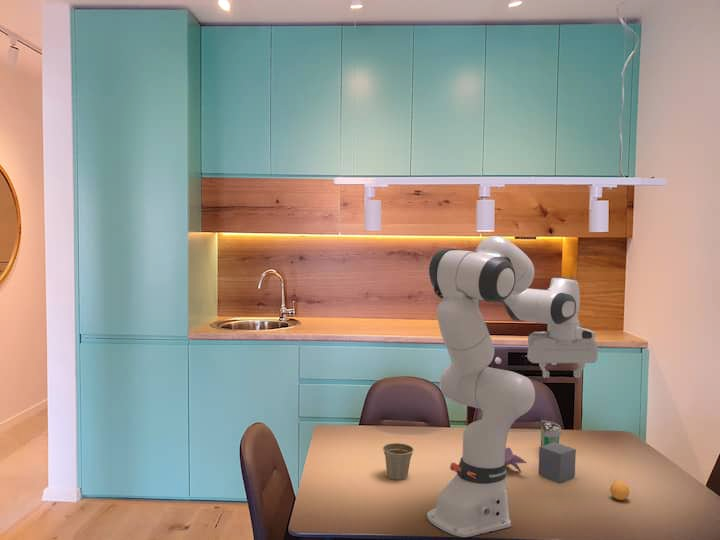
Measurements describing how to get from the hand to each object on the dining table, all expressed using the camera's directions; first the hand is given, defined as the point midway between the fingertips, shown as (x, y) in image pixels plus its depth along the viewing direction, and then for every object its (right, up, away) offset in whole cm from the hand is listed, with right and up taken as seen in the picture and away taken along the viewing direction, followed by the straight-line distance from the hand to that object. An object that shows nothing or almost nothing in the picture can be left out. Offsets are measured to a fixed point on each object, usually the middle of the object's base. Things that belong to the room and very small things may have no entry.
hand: (561, 377), depth 179 cm
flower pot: (-49, -31, +3) cm, 58 cm away
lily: (-14, -31, +8) cm, 35 cm away
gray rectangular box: (0, -31, +5) cm, 32 cm away
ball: (+13, -30, -10) cm, 34 cm away
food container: (+4, -31, +23) cm, 39 cm away
